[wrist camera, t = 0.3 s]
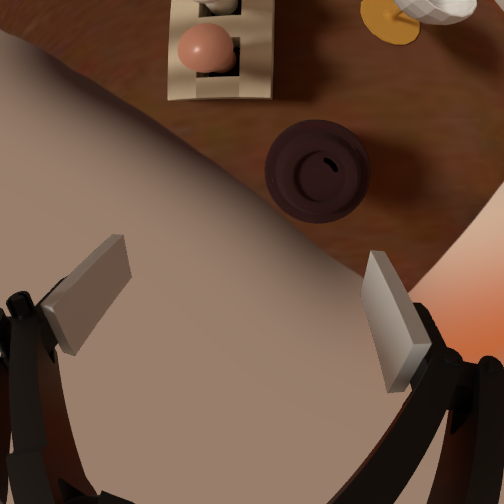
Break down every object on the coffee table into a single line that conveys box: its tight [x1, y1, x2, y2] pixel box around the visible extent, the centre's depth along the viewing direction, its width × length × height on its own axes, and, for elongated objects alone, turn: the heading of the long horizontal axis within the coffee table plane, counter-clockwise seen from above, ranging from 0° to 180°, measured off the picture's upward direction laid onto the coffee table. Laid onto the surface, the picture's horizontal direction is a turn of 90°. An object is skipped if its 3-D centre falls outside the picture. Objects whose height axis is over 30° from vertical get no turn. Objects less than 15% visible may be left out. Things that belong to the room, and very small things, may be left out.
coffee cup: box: [265, 120, 370, 224], centre depth 31 cm, size 10×10×15 cm
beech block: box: [168, 0, 275, 101], centre depth 28 cm, size 18×12×6 cm, turn 178°
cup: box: [360, 0, 477, 45], centre depth 19 cm, size 9×9×16 cm
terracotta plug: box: [177, 23, 236, 73], centre depth 26 cm, size 5×5×8 cm
